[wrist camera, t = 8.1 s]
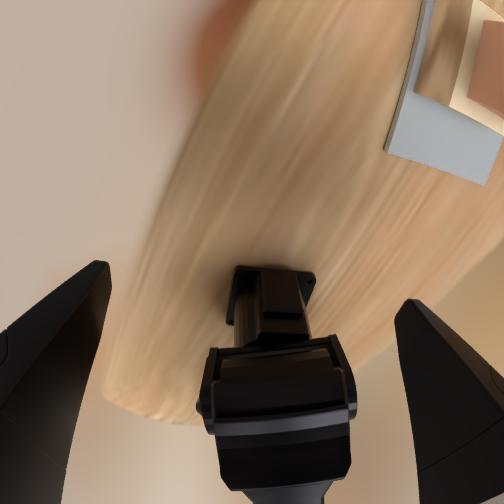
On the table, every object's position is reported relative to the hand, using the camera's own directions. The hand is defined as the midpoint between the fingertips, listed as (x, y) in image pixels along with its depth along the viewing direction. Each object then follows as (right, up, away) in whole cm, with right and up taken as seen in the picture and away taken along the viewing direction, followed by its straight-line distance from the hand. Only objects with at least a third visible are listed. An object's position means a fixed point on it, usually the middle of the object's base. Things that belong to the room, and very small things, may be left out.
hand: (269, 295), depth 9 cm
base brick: (+13, +13, +5) cm, 20 cm away
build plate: (+14, +12, +7) cm, 20 cm away
